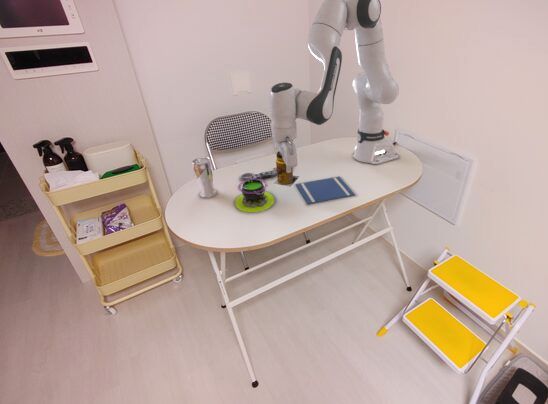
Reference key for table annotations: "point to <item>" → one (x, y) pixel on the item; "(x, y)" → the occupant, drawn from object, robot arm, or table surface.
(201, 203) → the table surface
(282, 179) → the condiment
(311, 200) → the blue board
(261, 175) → the knife
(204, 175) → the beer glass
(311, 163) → the table surface
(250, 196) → the toy cauldron
